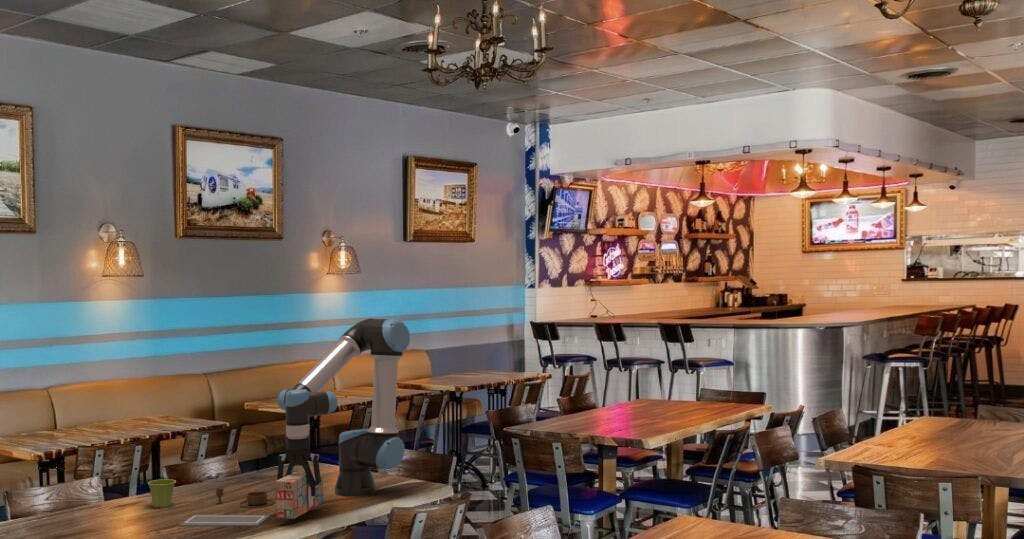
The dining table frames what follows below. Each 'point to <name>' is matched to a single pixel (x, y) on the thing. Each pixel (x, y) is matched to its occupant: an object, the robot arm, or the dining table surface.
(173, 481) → the plant pot
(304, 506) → the stack of blocks
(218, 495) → the place setting
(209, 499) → the dining table surface
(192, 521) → the blueprint baseplate
